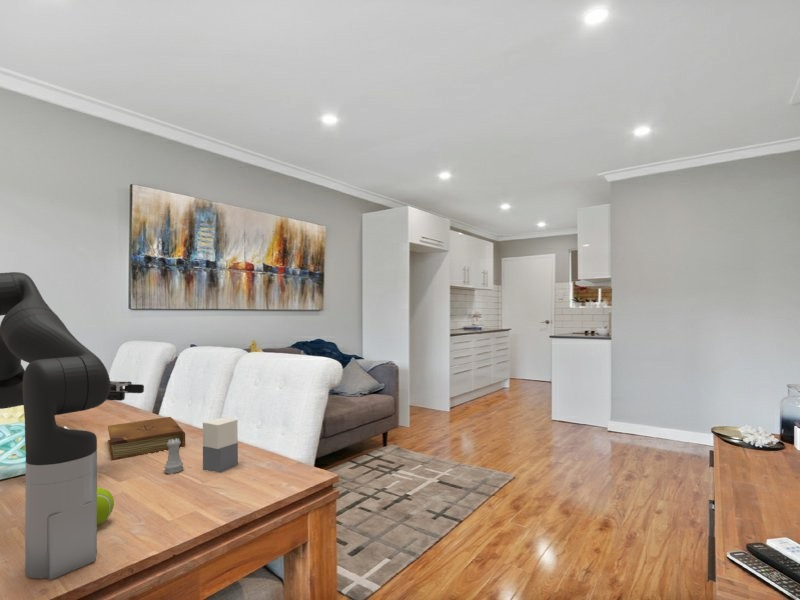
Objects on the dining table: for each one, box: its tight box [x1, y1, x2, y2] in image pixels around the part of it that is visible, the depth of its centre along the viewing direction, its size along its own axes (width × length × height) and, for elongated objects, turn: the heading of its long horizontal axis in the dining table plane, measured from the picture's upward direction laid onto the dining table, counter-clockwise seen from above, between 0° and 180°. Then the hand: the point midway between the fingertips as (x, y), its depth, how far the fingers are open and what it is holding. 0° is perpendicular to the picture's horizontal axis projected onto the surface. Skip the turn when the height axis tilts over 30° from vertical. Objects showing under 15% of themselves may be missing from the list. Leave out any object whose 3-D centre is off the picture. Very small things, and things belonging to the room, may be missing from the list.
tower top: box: [202, 417, 239, 449], centre depth 113 cm, size 6×6×6 cm
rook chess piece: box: [163, 438, 184, 475], centre depth 111 cm, size 4×4×8 cm
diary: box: [107, 416, 186, 461], centre depth 135 cm, size 23×19×6 cm
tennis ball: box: [97, 486, 115, 526], centre depth 82 cm, size 7×7×7 cm
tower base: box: [202, 443, 239, 473], centre depth 113 cm, size 6×6×6 cm
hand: (134, 392), depth 111 cm, fingers open, 8 cm apart
